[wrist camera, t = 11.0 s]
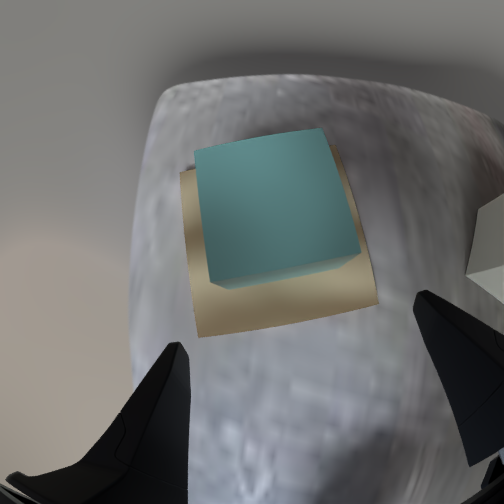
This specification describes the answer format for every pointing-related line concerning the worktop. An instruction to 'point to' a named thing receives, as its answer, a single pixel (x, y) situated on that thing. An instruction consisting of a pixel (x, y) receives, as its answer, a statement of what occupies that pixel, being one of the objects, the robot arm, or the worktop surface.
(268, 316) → the oak board
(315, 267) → the aqua cube
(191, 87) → the worktop surface
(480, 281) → the cream storage box
